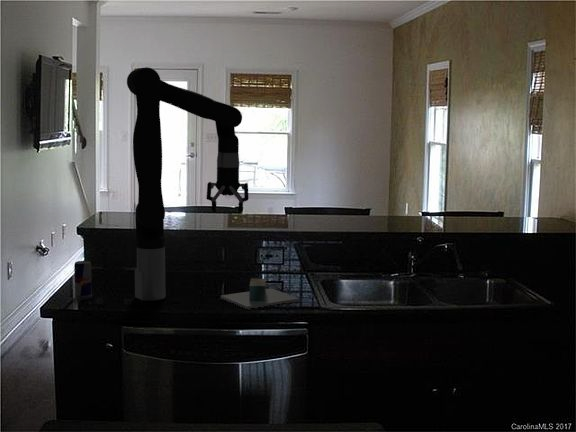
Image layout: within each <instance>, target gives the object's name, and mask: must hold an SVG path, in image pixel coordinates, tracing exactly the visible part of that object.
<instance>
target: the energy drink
mask: <svg viewBox="0 0 576 432" xmlns="http://www.w3.org/2000/svg"><path fill="white" fill-rule="evenodd" d="M73 268H74V270H73V272H74V297H75V299H76V300H89V299H92V297H93V294H92V290H93V289H92V288H93V287H92V286H93V285H92V263H91V261H88V260H76V261H75V262H74V265H73Z"/></svg>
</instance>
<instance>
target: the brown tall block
mask: <svg viewBox="0 0 576 432" xmlns="http://www.w3.org/2000/svg"><path fill="white" fill-rule="evenodd" d="M248 287H249V288H248V289H249V291H248V292H249V301H265V296H266V289H267V279H266V278H250V281H249V286H248Z"/></svg>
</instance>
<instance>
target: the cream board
mask: <svg viewBox="0 0 576 432" xmlns="http://www.w3.org/2000/svg"><path fill="white" fill-rule="evenodd" d="M220 299H221V300H224V301H225V300H226V302H228V303H230V302H231V303H230V304H232V303H234V304H233V305H235V304H236V305H235V306H237V305H238V306H237V307H239V306H240V307H239V308H242V307H243V308H242V309H244V308H245V310H246V309H248V310H252V309H251V308H255V309H259V308H258V307H261V308H265V307H264V306H267V307H269V306H268V305H274V304H280V305H283V304H282V303H286V304H291V303H298V302H300V298H299V297H295V296H293V295H292V294H289V293H285V292H283V291H279V290H277V289H275V288H272V287H271V288H266V296H265V301H249V291H244V292H237V293H236V292H235V293H230V294H229V293H228V294H222V295H220ZM274 306H275V305H274Z"/></svg>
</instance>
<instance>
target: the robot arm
mask: <svg viewBox="0 0 576 432" xmlns="http://www.w3.org/2000/svg"><path fill="white" fill-rule="evenodd" d="M126 86H127V88H128V89H129V91H130V92H131V94H133V95H134V96H135V100H136V119H135V122H134V123H135V124H134V129H133V133H132V134H133V136H132V150H133V151H132V152H133V154H132V155H133V156H132V157H133V163H134V168H135V175H136V178H137V185H138V188H137V189H138V192H137V193H138V196H137V197H138V198H137V200H138V201H137V204H136V206H135V211H134V212H135V213H134V214H135V215H134V216H135V218H134V219H135V239H136V240H135V242H136V268H135V269H134V297H135V298H136V299H138V300H139V301H142V302H144V301H147V302H149V301H160V300H163V299H165V298H166V247H165V246H166V245H165V244H166V241H165V240H166V238H165V230H164V229H165V227H164V226H165V225H164V223H165V222H164V221H165V217H166V209H165V205H164V199H163V190H162V177H163V176H162V175H163V139H162V127H161V126H162V125H161V117H160V115H161V113H160V110H161V109H160V108H161V102H163V103H166V104H168V105H171V106H174V107H175V108H178V109H181V110H183V111H185V112H187V113H190V114H192V115H195V116H197V117H199V118H202V119H204V120H205V119H206V120H211V121H214V122H215V130H216V135H217V141H218V142H217V158H216V182H212V181H209V182H207V186H206V187H207V188H206V197H205V198H206V200H208V201H210V202H211V212H213V213H214V214H215V213H217V199H218V198H219V197H220V195H221V196H229V197H230V196H234V197H235V198H236V199H237V201H238V209H237V210H238V212H237V213H238V214H241V213H242V212H243V210H244V203H245V202H247V201H248V200H249V183H247V182H245V183H240V154H239V150H240V149H239V145H240V143H239V141H240V140H239V138H238V136H237V135H236V130H235V128H236V127H239V126H240V125H241V123H242V121H243V115H242V112H241V110H240V109H238V108H237V107H235V106H233V105H230V104H227V103H224V102H220V101H217V100H214V99H213V98H211V97H208V96H206V95H203V94H200V93H198V92H196V91H192V90H190V89H187V88H183V87H179V86H177V85H173V84H170V83H168V82H166V81H164V80H162V79H161V77H160V75H159V73H158V71H156V69H154V68H152V67H147V66H146V67H139V68H135V69H133V70H132V71H130V72H129V73H128V75H127V78H126ZM214 187H216V188H215V189H217V192H216V194H214V196H212V190H213V189H214ZM240 188H241V190H243V191H244V192H243V193H244V194H243V195H244V196H243V197H242V195H241V194H240V193H239V191H238V190H239V189H240Z"/></svg>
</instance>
